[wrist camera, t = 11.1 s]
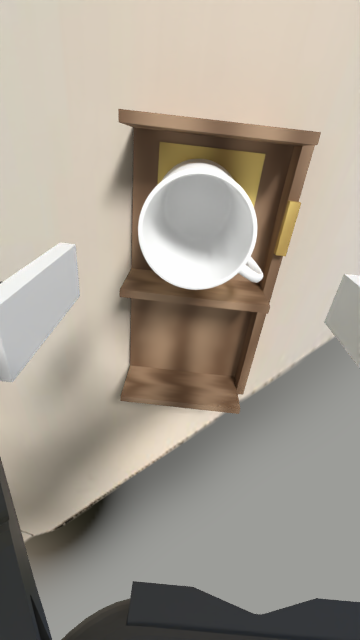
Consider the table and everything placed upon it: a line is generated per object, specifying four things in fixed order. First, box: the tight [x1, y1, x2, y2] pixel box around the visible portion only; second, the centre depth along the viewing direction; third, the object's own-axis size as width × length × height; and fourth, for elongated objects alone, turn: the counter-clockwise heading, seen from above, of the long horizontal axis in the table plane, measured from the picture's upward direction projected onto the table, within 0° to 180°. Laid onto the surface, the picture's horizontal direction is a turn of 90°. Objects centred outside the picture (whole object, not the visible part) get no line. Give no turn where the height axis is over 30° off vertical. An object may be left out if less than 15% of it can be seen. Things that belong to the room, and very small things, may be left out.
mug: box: [138, 159, 263, 290], centre depth 25 cm, size 12×8×12 cm
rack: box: [119, 109, 321, 414], centre depth 32 cm, size 16×30×7 cm, turn 174°
